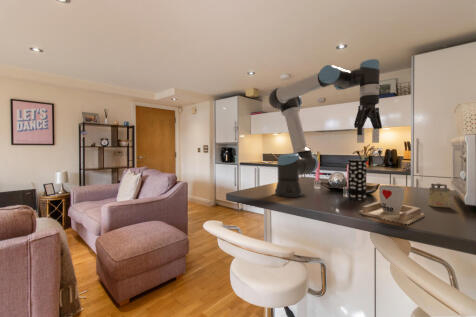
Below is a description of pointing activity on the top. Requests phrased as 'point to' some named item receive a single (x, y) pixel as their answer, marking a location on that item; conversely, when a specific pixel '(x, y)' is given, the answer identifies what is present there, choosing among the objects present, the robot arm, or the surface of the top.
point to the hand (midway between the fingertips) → (368, 142)
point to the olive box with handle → (439, 196)
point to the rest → (404, 217)
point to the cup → (391, 198)
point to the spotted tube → (357, 179)
